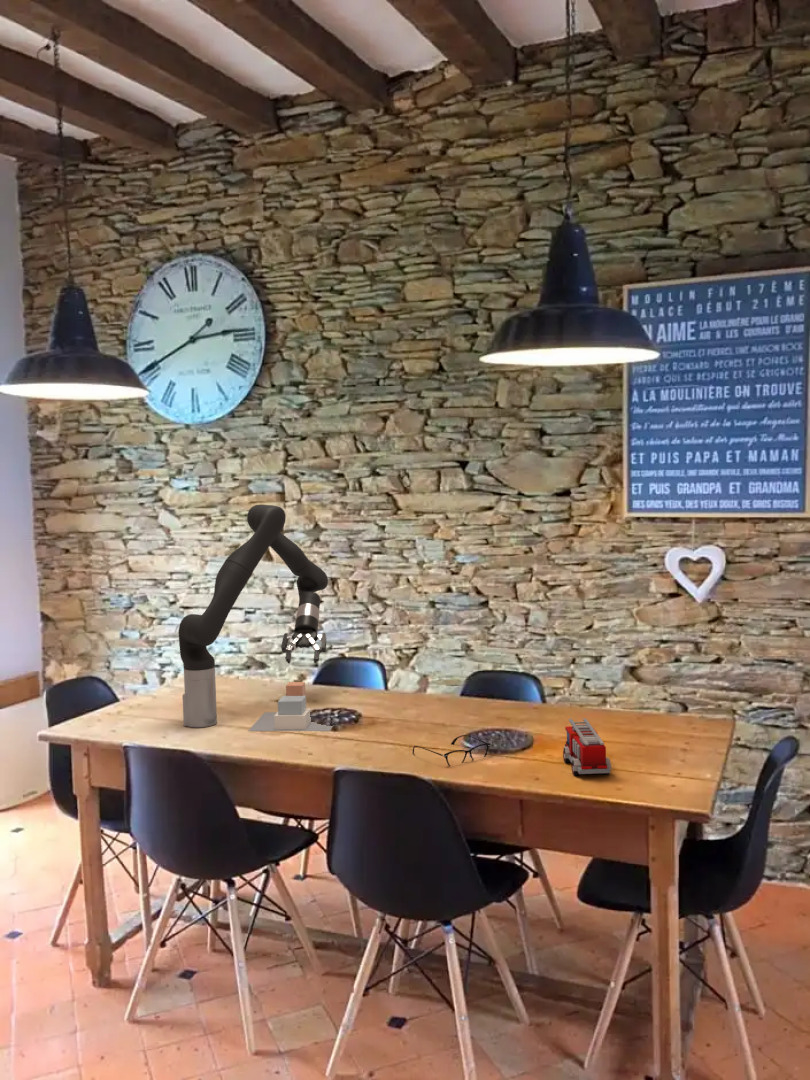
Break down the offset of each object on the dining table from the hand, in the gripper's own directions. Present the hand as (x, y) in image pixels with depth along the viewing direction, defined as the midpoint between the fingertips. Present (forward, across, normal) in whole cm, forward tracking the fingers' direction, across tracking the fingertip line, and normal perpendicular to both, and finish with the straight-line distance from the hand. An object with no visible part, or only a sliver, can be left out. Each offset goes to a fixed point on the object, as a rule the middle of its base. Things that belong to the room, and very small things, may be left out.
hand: (301, 662), depth 296 cm
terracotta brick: (+18, 0, +2) cm, 18 cm away
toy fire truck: (+54, +82, -32) cm, 103 cm away
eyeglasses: (+46, +48, -24) cm, 71 cm away
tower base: (+26, +1, -5) cm, 27 cm away
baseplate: (+23, +1, -1) cm, 23 cm away
